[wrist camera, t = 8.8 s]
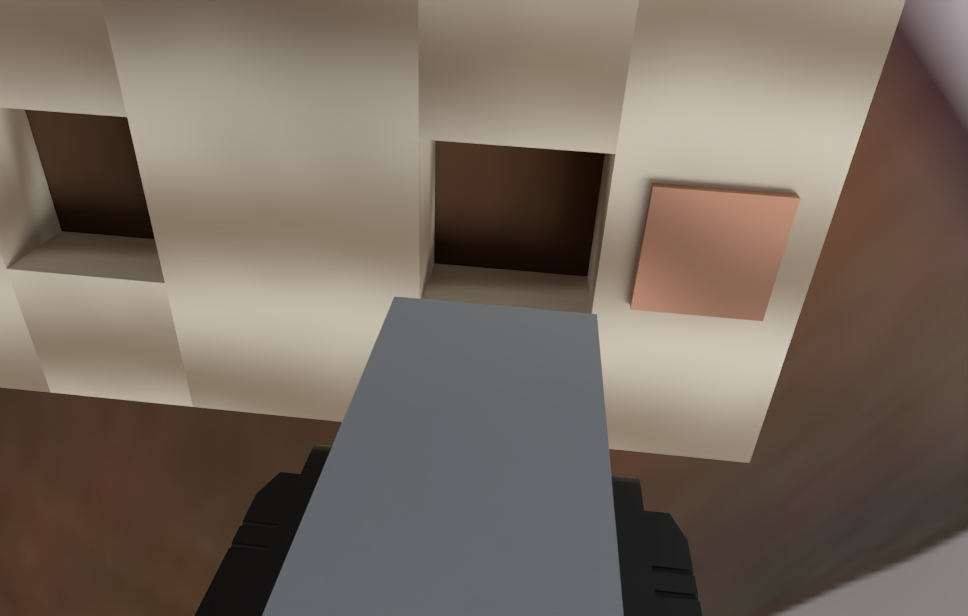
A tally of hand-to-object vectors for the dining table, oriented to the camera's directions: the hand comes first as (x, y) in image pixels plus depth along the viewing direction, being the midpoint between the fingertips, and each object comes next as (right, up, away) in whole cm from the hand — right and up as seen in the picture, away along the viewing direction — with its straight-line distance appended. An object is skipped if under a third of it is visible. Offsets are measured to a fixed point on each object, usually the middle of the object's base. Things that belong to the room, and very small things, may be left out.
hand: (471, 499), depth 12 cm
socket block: (-6, +8, +12) cm, 15 cm away
